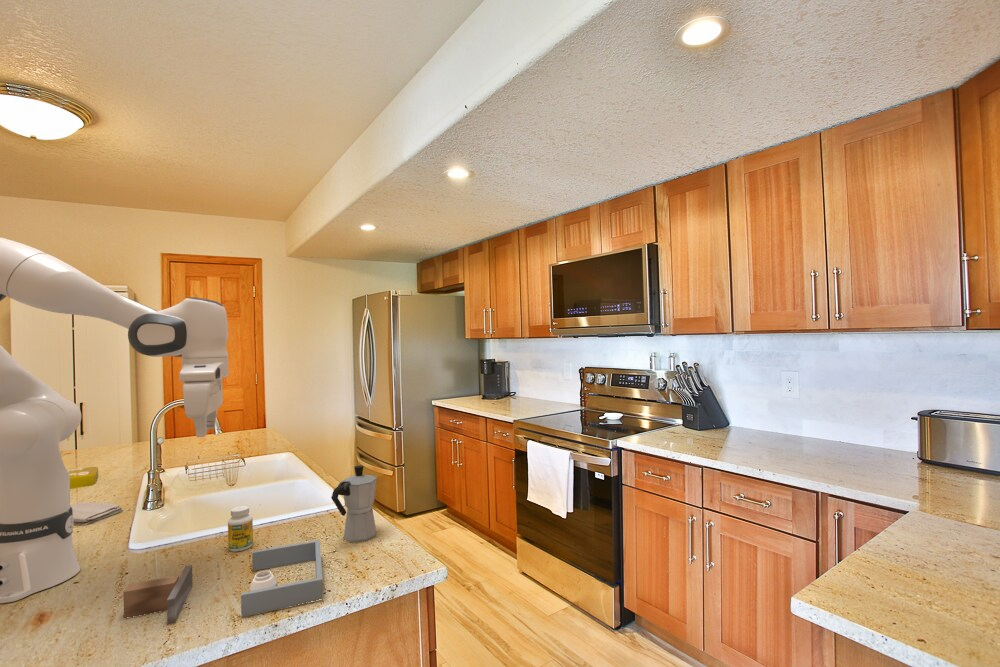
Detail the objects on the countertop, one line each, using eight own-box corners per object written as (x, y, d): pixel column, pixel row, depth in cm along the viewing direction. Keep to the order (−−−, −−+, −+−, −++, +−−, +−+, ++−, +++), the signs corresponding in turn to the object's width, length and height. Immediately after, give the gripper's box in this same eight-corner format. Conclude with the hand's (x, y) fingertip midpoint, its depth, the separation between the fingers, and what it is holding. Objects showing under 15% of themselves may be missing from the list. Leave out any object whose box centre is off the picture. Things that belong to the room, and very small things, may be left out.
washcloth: (87, 528, 133) (87, 516, 133) (32, 525, 135) (32, 514, 135) (126, 512, 144) (126, 502, 144) (75, 510, 147) (75, 500, 147)
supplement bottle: (251, 540, 120) (251, 503, 121) (254, 548, 116) (253, 509, 116) (227, 546, 118) (226, 507, 118) (229, 554, 113) (228, 514, 113)
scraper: (112, 636, 82) (112, 607, 82) (138, 596, 95) (138, 571, 95) (175, 623, 86) (174, 595, 86) (192, 586, 98) (192, 562, 99)
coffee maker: (366, 524, 130) (365, 458, 130) (390, 530, 126) (389, 462, 126) (321, 544, 117) (320, 472, 117) (345, 552, 113) (344, 476, 113)
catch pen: (241, 617, 87) (240, 595, 87) (252, 569, 105) (252, 551, 105) (322, 600, 92) (322, 579, 92) (320, 557, 111) (319, 539, 111)
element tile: (98, 477, 184) (98, 464, 184) (95, 486, 172) (94, 473, 172) (45, 484, 175) (45, 471, 175) (37, 495, 163) (37, 481, 163)
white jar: (244, 592, 96) (261, 597, 94) (243, 577, 96) (261, 582, 94) (265, 580, 101) (282, 584, 99) (264, 566, 101) (282, 570, 99)
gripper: (199, 368, 114) (200, 426, 114) (176, 373, 95) (177, 442, 95) (229, 367, 116) (230, 424, 116) (213, 372, 97) (213, 440, 97)
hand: (206, 432), depth 105 cm, fingers open, 8 cm apart
